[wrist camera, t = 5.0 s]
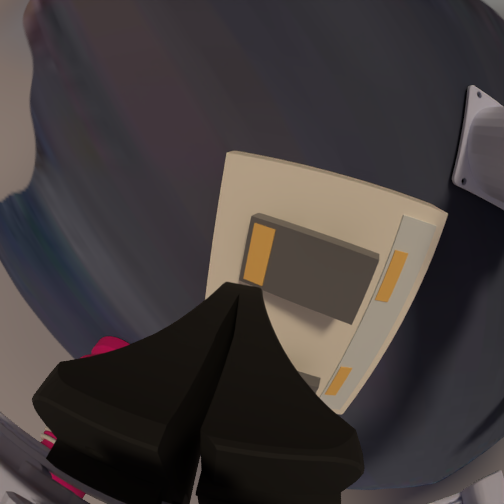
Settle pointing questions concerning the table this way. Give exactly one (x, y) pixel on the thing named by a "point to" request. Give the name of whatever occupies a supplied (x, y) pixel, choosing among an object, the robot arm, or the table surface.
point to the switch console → (341, 227)
